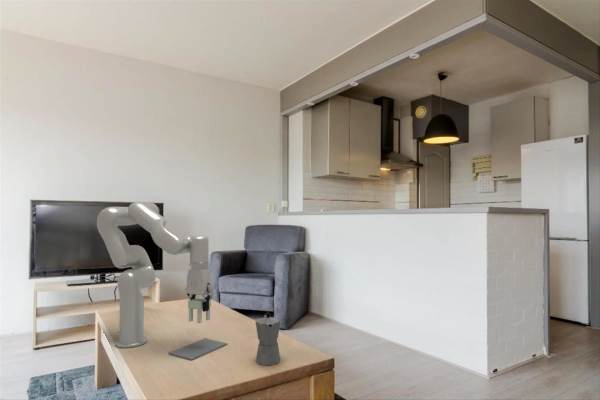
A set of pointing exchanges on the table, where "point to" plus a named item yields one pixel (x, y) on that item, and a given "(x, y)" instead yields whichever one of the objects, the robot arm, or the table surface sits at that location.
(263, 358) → the coffeepot
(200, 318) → the pale green stool
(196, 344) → the mat
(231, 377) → the table surface
